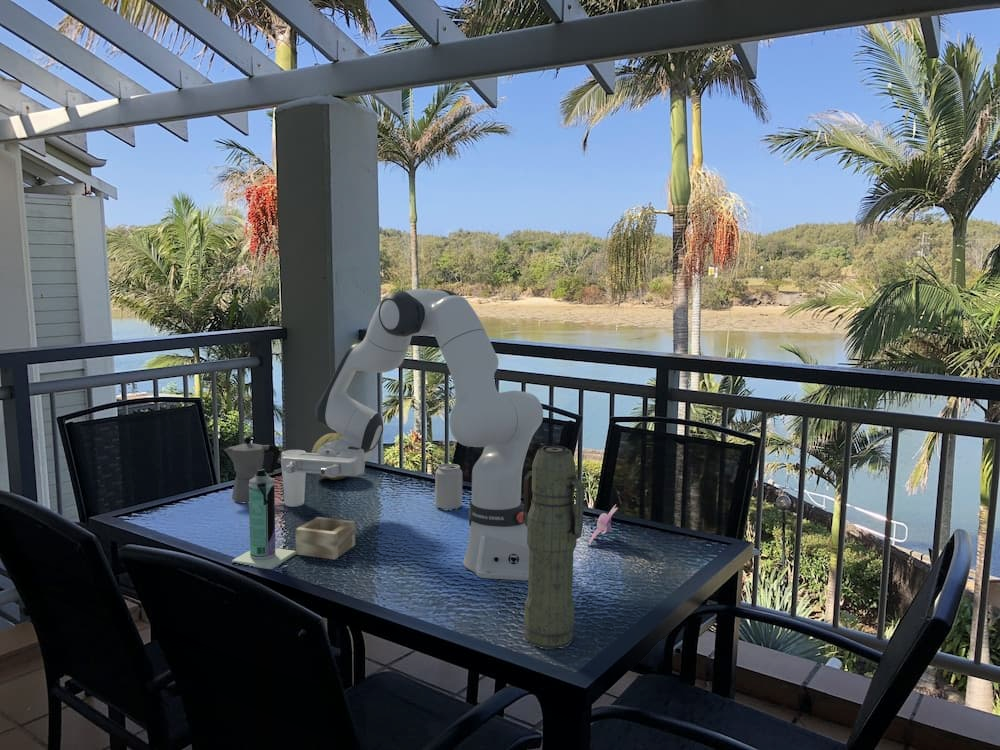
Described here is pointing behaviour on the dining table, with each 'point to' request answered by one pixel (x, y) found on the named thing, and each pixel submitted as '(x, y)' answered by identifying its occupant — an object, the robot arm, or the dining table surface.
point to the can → (448, 486)
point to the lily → (604, 524)
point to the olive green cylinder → (551, 545)
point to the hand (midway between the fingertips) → (306, 471)
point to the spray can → (262, 516)
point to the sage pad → (279, 558)
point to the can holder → (325, 537)
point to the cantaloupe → (325, 440)
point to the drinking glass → (293, 484)
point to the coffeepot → (248, 465)
